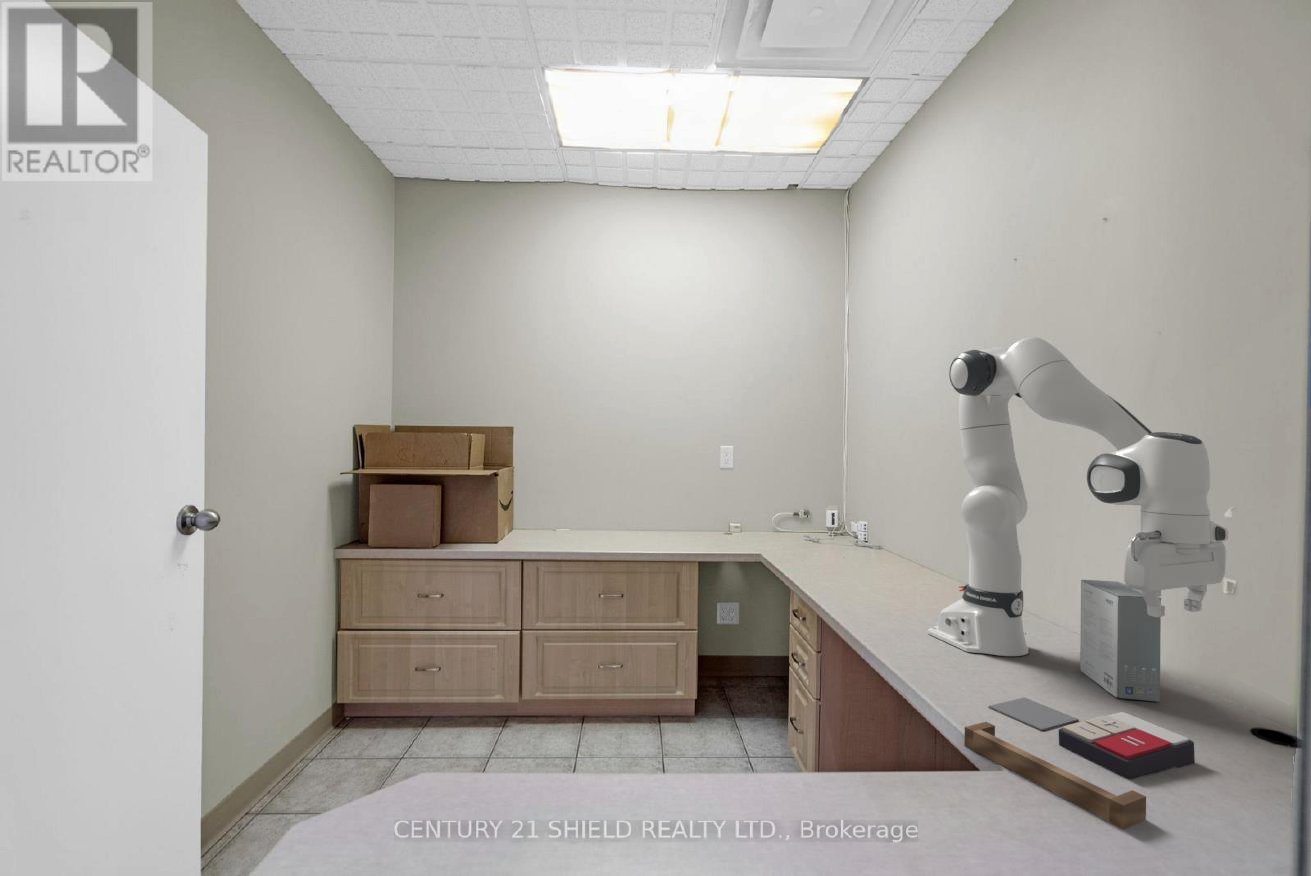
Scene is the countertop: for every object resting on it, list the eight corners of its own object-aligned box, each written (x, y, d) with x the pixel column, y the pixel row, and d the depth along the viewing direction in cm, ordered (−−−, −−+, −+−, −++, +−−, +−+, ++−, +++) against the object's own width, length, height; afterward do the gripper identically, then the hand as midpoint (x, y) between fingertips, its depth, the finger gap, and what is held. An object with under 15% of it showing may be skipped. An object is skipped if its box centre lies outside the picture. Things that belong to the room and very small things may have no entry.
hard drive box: (1162, 703, 117) (1163, 598, 117) (1116, 699, 118) (1117, 595, 118) (1118, 673, 132) (1119, 580, 132) (1078, 670, 134) (1079, 578, 134)
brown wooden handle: (964, 745, 99) (964, 726, 99) (985, 739, 101) (986, 721, 101) (1123, 829, 78) (1123, 805, 78) (1146, 819, 80) (1146, 796, 80)
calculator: (1056, 724, 100) (1121, 707, 105) (1057, 750, 100) (1121, 732, 105) (1127, 757, 90) (1195, 736, 95) (1128, 786, 90) (1196, 764, 95)
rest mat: (988, 707, 114) (988, 705, 114) (1024, 698, 118) (1024, 697, 118) (1041, 731, 105) (1041, 729, 105) (1078, 720, 109) (1078, 719, 109)
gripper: (1154, 535, 96) (1154, 624, 96) (1234, 529, 103) (1235, 612, 103) (1112, 530, 102) (1112, 614, 102) (1190, 525, 109) (1191, 603, 109)
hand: (1174, 613), depth 102 cm, fingers open, 8 cm apart
